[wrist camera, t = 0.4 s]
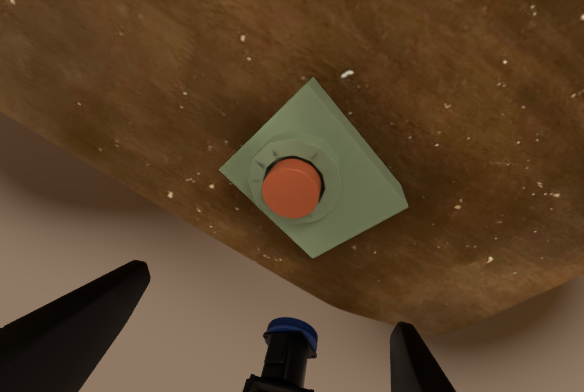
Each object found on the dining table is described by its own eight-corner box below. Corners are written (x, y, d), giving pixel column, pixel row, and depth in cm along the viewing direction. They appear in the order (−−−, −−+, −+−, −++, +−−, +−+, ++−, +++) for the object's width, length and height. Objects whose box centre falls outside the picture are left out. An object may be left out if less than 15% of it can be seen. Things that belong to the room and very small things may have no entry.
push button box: (400, 184, 23) (413, 221, 18) (316, 234, 28) (310, 273, 23) (313, 76, 20) (301, 87, 15) (235, 153, 25) (208, 179, 20)
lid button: (332, 187, 19) (331, 200, 17) (293, 214, 21) (289, 227, 19) (295, 146, 18) (290, 156, 16) (257, 179, 20) (250, 190, 18)
